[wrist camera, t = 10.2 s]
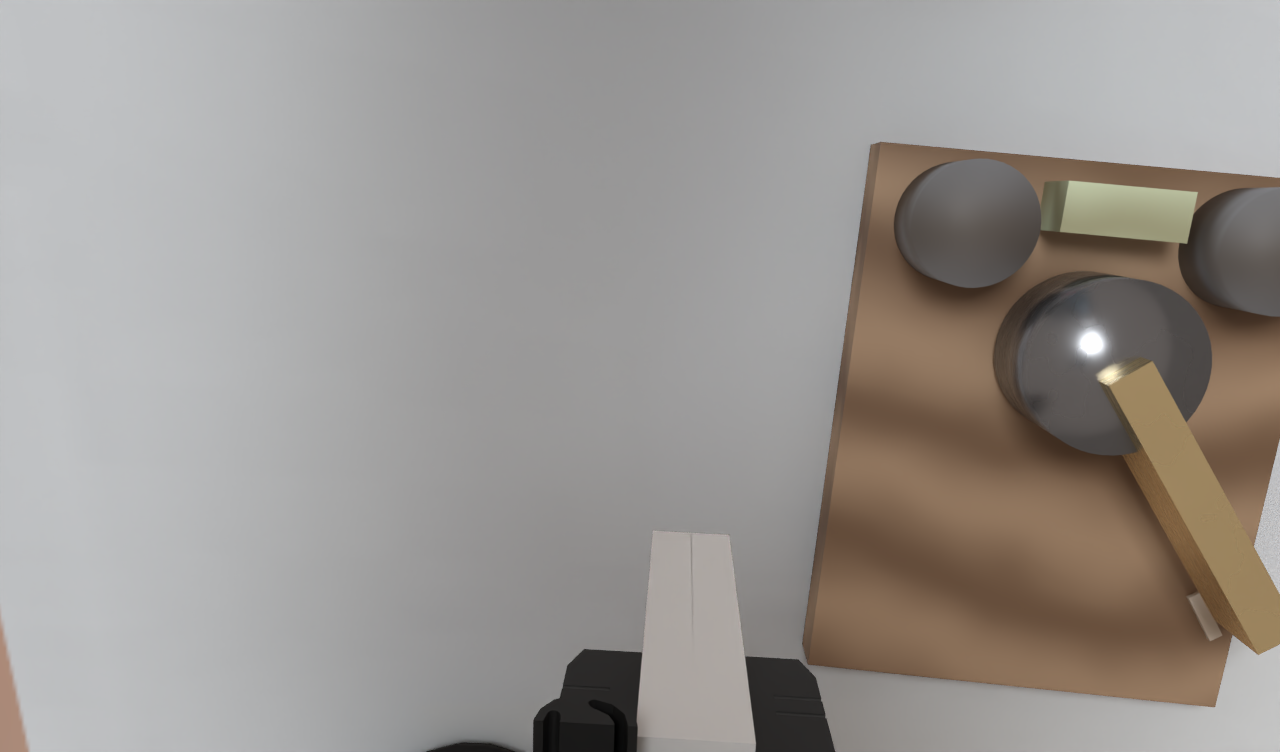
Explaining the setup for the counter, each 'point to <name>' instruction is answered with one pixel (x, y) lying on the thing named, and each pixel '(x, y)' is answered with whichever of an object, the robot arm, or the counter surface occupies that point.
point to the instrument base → (1030, 428)
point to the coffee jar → (471, 748)
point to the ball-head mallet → (1139, 420)
